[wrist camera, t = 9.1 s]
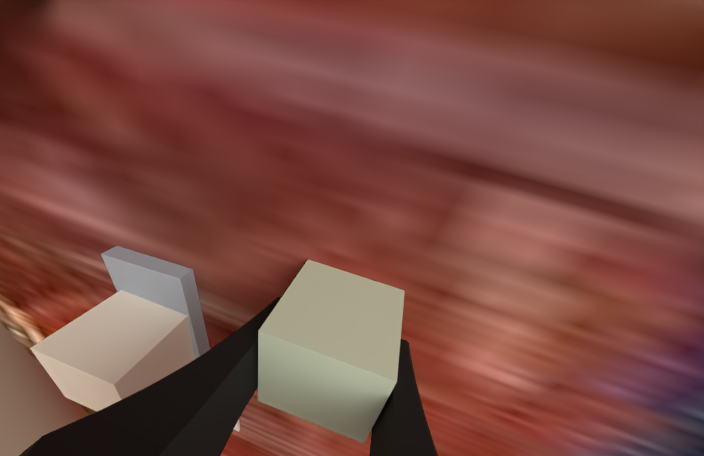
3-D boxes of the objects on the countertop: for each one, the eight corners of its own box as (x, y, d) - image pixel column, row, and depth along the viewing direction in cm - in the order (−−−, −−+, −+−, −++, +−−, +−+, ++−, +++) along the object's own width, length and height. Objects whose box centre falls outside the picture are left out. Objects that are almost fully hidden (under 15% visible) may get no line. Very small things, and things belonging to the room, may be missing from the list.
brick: (195, 360, 17) (136, 429, 13) (137, 336, 17) (65, 397, 14) (187, 315, 14) (113, 384, 11) (121, 289, 15) (30, 348, 11)
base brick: (221, 364, 19) (206, 383, 18) (165, 344, 20) (147, 361, 18) (201, 262, 14) (180, 278, 13) (128, 240, 15) (100, 253, 14)
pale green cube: (378, 351, 13) (363, 443, 10) (299, 323, 13) (257, 400, 10) (404, 290, 11) (396, 381, 7) (307, 259, 11) (258, 331, 8)
